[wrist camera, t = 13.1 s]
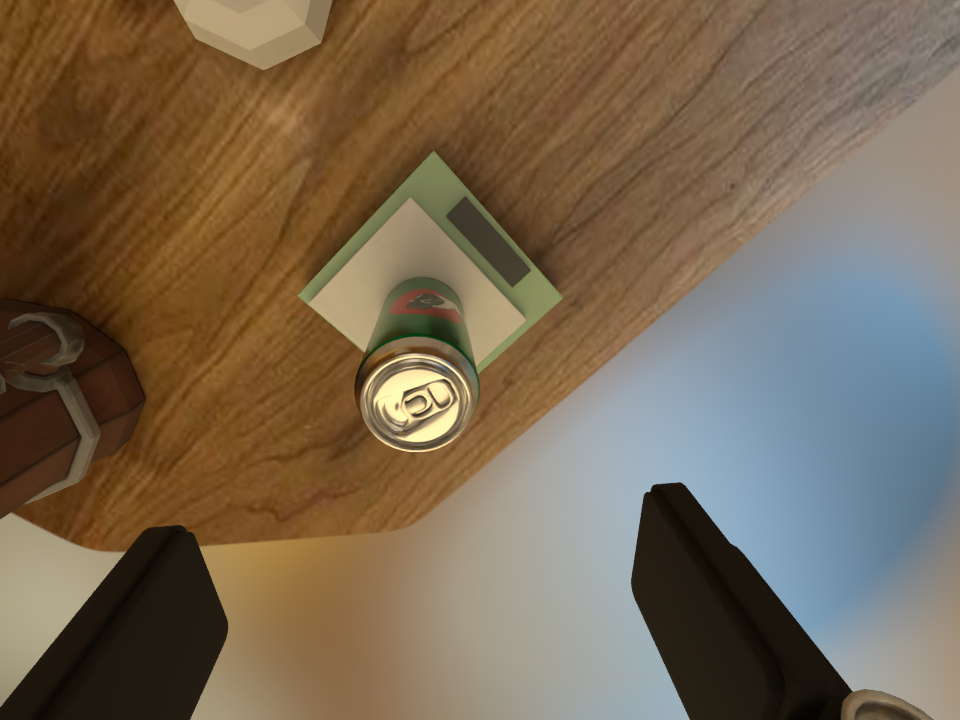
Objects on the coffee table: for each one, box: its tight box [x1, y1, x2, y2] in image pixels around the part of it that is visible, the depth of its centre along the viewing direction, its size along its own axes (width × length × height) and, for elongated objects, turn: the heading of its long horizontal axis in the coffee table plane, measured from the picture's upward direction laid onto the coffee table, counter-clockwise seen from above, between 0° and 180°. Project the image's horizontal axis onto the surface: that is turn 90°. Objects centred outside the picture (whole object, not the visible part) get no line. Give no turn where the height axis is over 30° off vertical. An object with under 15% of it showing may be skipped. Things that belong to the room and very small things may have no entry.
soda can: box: [355, 277, 480, 452], centre depth 22 cm, size 5×5×12 cm
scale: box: [298, 151, 563, 374], centre depth 29 cm, size 12×12×3 cm
